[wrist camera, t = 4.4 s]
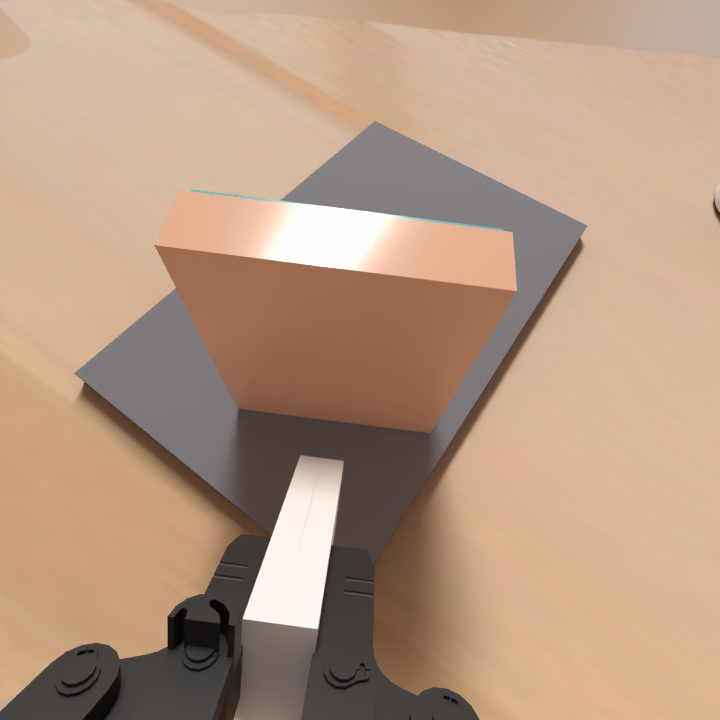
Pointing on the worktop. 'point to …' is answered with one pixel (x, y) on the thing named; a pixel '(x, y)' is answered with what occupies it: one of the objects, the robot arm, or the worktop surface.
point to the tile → (337, 304)
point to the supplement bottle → (717, 198)
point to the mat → (316, 436)
